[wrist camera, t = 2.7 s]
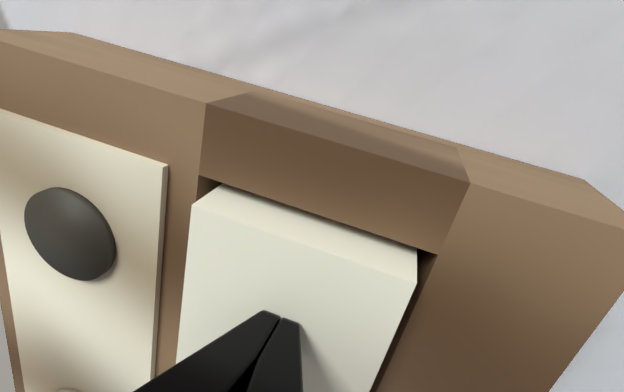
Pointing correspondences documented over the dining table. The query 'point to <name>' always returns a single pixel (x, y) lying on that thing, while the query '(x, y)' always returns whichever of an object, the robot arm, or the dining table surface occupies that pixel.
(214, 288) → the button
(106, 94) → the button board
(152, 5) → the dining table surface
